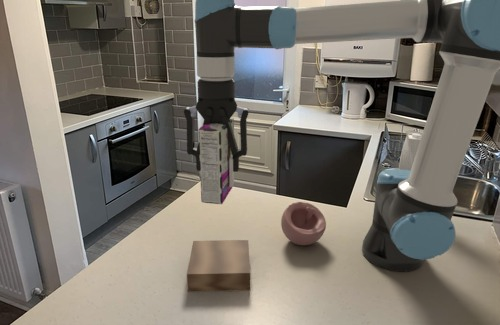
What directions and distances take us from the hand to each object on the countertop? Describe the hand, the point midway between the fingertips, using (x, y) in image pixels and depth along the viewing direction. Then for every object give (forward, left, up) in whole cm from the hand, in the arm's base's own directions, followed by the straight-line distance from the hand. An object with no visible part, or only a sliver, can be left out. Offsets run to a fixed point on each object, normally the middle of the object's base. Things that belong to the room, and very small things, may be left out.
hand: (218, 184), depth 85 cm
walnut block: (0, 0, -24) cm, 24 cm away
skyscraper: (-56, -35, -24) cm, 70 cm away
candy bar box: (0, 0, -3) cm, 3 cm away
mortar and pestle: (-21, -15, -23) cm, 35 cm away
